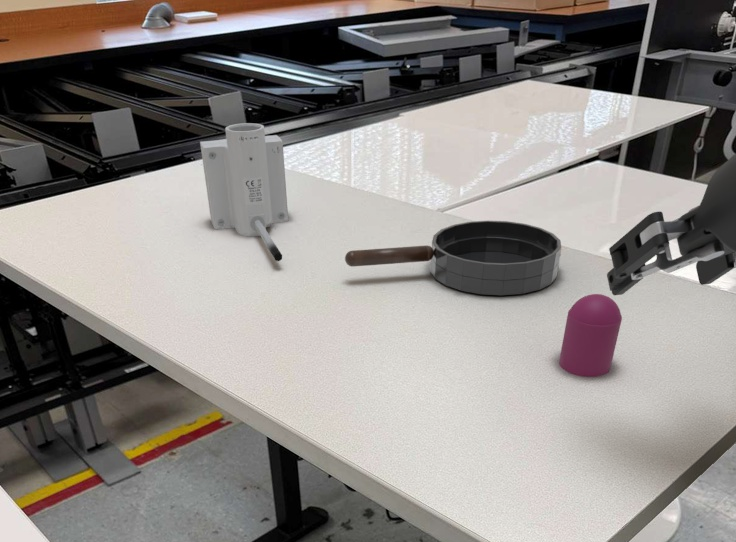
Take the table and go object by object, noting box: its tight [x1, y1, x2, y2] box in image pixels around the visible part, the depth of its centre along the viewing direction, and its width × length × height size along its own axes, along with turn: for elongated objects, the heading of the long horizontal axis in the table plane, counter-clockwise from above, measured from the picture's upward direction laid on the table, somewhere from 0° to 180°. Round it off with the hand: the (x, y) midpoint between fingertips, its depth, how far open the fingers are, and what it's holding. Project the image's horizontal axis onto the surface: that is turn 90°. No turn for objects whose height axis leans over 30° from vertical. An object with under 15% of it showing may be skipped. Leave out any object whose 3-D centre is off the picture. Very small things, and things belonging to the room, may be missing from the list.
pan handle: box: [344, 245, 434, 268], centre depth 95 cm, size 12×2×2 cm, turn 98°
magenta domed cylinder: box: [558, 293, 623, 378], centre depth 75 cm, size 5×5×8 cm
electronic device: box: [199, 122, 289, 262], centre depth 105 cm, size 12×26×15 cm, turn 17°
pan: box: [429, 220, 562, 296], centre depth 97 cm, size 17×17×4 cm
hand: (657, 279), depth 63 cm, fingers open, 8 cm apart
